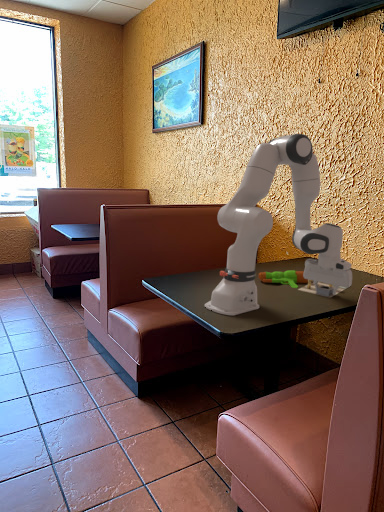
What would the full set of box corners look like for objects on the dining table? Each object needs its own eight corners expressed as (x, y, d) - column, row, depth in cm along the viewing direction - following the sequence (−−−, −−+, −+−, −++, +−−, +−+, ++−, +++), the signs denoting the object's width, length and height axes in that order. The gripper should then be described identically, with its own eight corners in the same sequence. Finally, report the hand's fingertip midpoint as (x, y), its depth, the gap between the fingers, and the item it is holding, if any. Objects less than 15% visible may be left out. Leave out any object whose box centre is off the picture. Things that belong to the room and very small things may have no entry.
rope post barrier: (325, 293, 164) (326, 279, 163) (305, 288, 170) (307, 275, 169) (338, 286, 176) (340, 273, 175) (320, 281, 182) (321, 269, 181)
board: (329, 300, 159) (330, 297, 159) (296, 292, 168) (297, 289, 168) (350, 288, 177) (350, 286, 177) (319, 281, 187) (319, 279, 187)
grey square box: (328, 297, 159) (329, 290, 159) (316, 294, 163) (316, 287, 162) (333, 294, 163) (334, 287, 163) (321, 291, 167) (322, 284, 166)
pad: (345, 289, 172) (345, 288, 172) (330, 285, 176) (330, 285, 176) (350, 286, 177) (350, 285, 177) (336, 282, 182) (336, 282, 182)
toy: (316, 283, 168) (311, 268, 182) (259, 282, 172) (258, 267, 185) (314, 296, 171) (309, 280, 185) (259, 294, 175) (258, 279, 188)
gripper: (302, 258, 164) (299, 288, 167) (350, 267, 151) (346, 300, 154) (308, 256, 169) (305, 286, 172) (355, 264, 156) (351, 296, 159)
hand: (325, 292), depth 163 cm, fingers closed on grey square box, 5 cm apart
